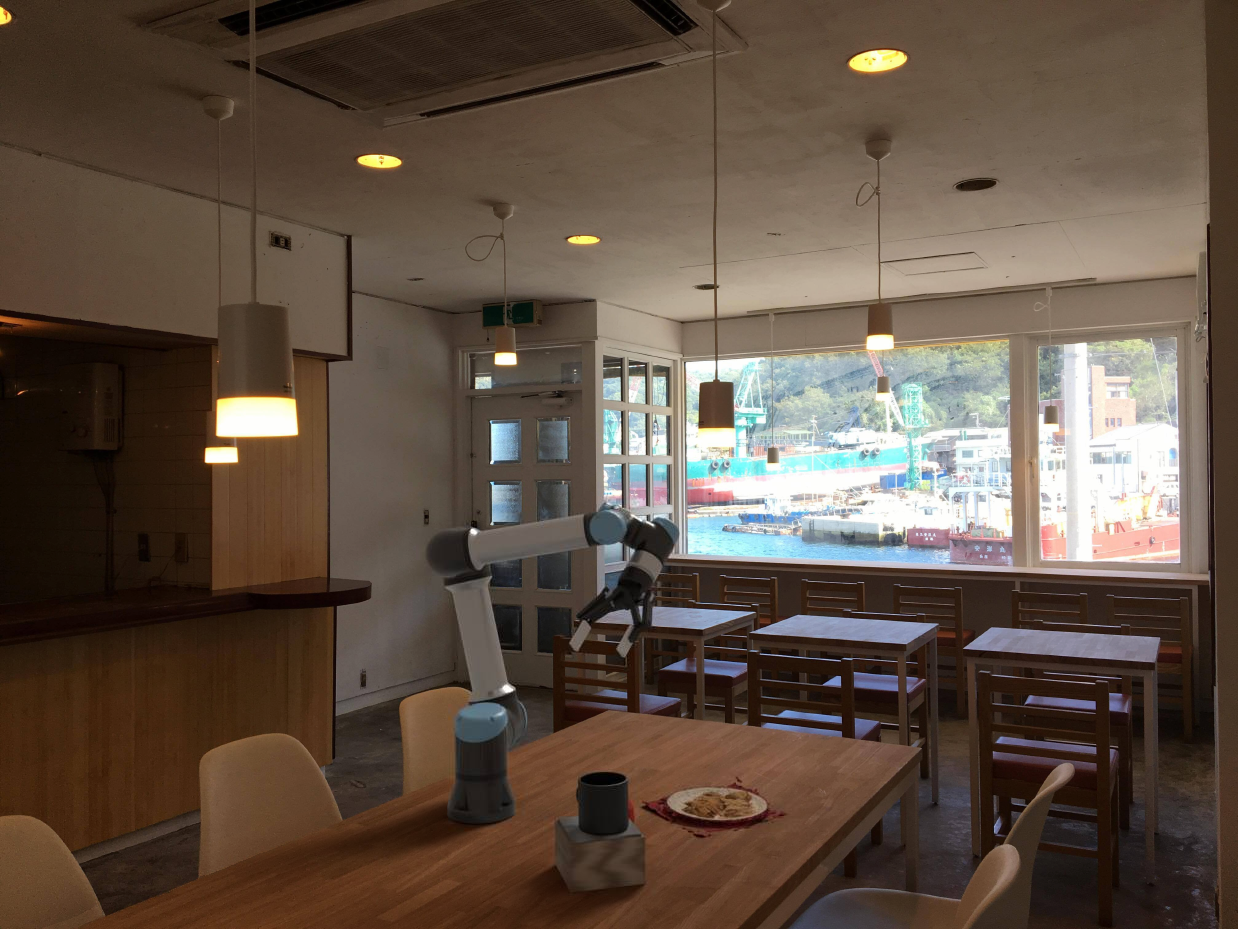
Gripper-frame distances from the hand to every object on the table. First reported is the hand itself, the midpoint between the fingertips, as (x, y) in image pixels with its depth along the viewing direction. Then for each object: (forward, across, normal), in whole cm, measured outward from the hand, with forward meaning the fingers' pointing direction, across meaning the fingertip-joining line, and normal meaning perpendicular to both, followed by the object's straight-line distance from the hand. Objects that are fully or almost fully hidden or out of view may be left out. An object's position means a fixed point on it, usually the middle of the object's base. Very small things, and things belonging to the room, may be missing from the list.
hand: (596, 650), depth 213 cm
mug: (+34, -18, -6) cm, 39 cm away
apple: (+31, -9, -22) cm, 39 cm away
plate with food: (+10, -14, -45) cm, 48 cm away
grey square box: (+41, -18, -13) cm, 46 cm away
